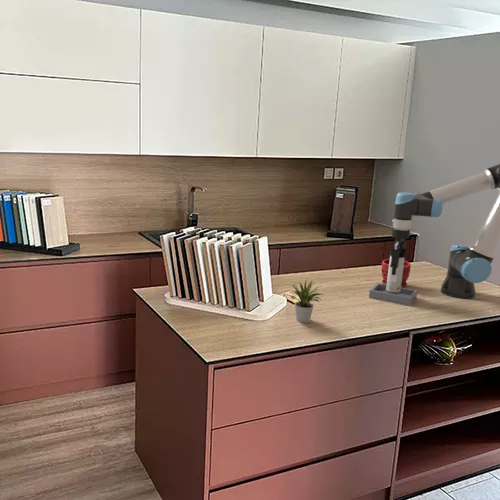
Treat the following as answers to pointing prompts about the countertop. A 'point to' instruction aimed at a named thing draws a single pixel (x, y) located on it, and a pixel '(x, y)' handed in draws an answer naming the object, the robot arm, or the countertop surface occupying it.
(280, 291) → the countertop surface
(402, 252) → the travel mug
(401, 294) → the tray
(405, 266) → the plant pot
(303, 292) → the house plant
